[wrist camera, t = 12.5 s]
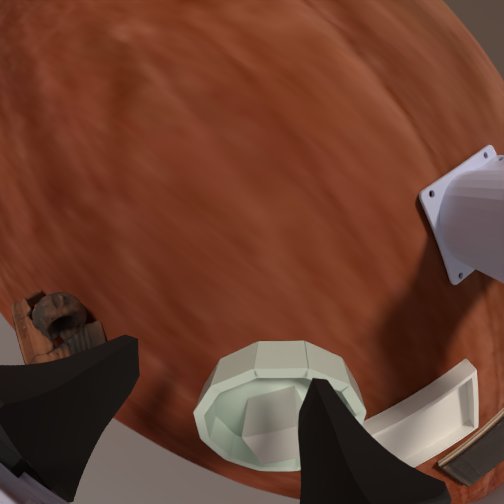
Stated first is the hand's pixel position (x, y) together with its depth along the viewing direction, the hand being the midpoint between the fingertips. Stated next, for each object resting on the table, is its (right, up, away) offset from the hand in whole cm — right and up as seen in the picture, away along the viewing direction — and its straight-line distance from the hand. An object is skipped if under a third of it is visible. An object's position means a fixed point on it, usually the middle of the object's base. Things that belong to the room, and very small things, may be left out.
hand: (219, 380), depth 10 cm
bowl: (+4, -8, +11) cm, 14 cm away
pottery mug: (-16, -1, +12) cm, 20 cm away
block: (+4, -8, +10) cm, 14 cm away
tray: (+19, -14, +11) cm, 26 cm away
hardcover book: (+41, -27, +12) cm, 51 cm away
